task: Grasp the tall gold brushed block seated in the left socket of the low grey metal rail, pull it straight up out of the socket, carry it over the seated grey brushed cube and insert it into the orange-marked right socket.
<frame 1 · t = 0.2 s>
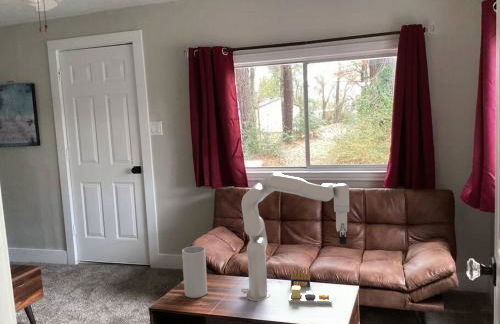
hand: (342, 241, 219), 31 cm above the table, fingers open, 9 cm apart
gold brushed block: (296, 300, 220), point 1 cm above the table, touching rail
cylinder vase: (196, 294, 236), on the table
grey brushed cube: (310, 301, 219), point 1 cm above the table, touching rail
ammunition clip: (300, 288, 238), on the table
rail: (310, 302, 219), on the table
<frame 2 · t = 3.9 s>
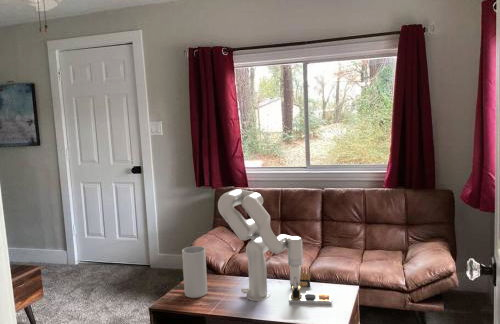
hand: (296, 295, 219), 4 cm above the table, fingers closed on gold brushed block, 4 cm apart
gold brushed block: (296, 300, 220), point 1 cm above the table, touching gripper, rail
everything else where it was.
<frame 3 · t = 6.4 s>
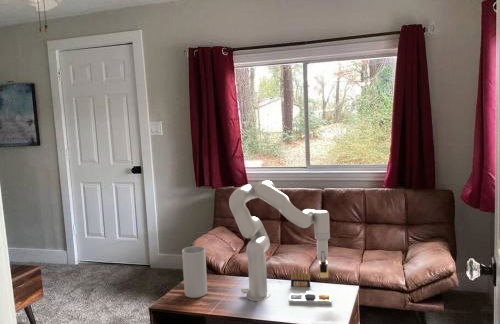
hand: (323, 270, 216), 17 cm above the table, fingers closed on gold brushed block, 4 cm apart
gold brushed block: (324, 275, 216), point 14 cm above the table, touching gripper
everything else where it was.
when the fingers open (5 cm above the table, at t = 8.7 s): gold brushed block stays where it is, resting on rail.
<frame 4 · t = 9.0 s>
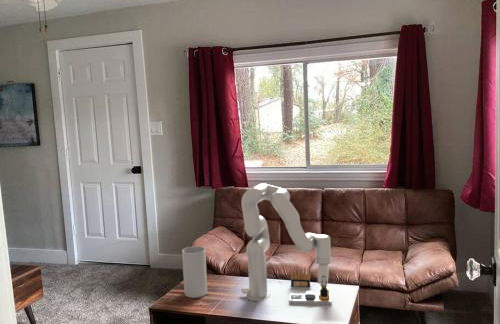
hand: (323, 293, 217), 5 cm above the table, fingers open, 7 cm apart
gold brushed block: (324, 301, 218), point 1 cm above the table, touching rail
everything else where it was.
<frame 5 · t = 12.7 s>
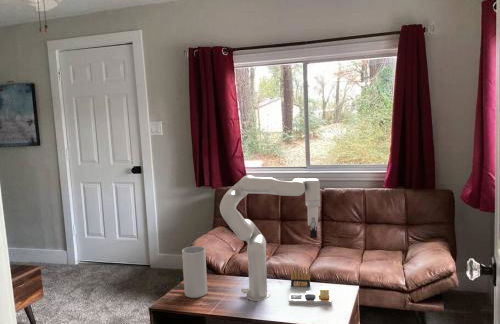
hand: (313, 235, 223), 33 cm above the table, fingers open, 9 cm apart
nothing on the table moved.
at the end: gold brushed block 0.2 cm from the target spot on the rail, point 1.1 cm above the rail's base; the gripper is holding nothing; grey brushed cube moved 0.0 cm from its start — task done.
